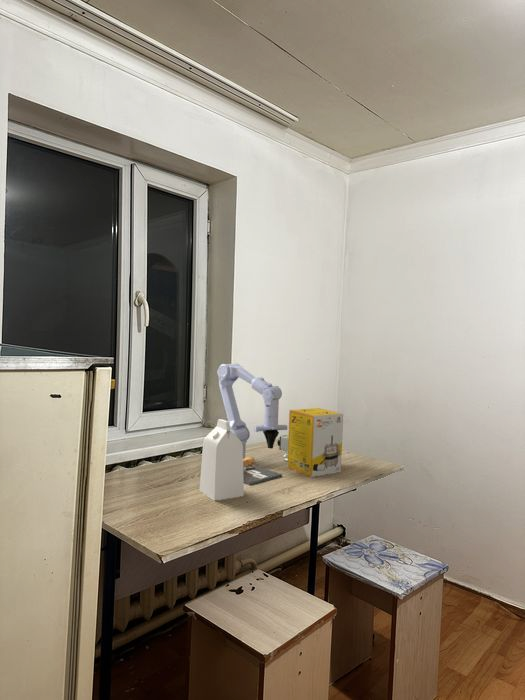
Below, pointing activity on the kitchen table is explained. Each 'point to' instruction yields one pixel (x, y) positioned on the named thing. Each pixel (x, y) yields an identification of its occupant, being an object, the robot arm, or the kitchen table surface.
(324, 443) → the packaging box
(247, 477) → the panel
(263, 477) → the label
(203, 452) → the milk
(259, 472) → the label
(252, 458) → the bar
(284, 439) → the pneumatic valve
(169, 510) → the kitchen table surface
